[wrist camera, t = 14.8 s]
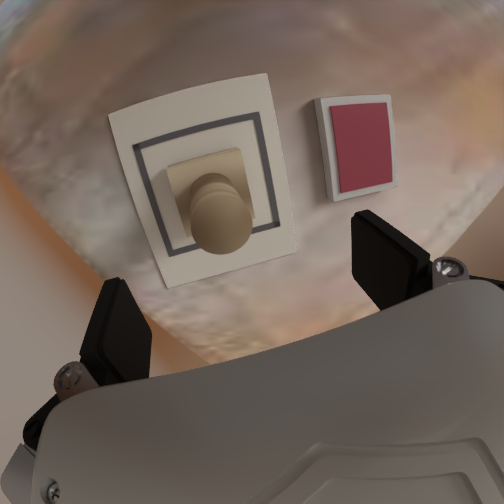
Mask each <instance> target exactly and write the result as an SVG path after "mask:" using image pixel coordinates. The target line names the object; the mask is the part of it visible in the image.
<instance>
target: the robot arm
mask: <svg viewBox="0 0 504 504" xmlns="http://www.w3.org/2000/svg"><path fill="white" fill-rule="evenodd" d="M351 238H352V275H353V277H354V279H355V280H356V282H357V283H358V284H359V285H360V286H361V288H362V289H363V290H364V291H365V292H366V293H367V295H368V296H369V297H370V298H371V299H372V301H373V302H374V303H375V304H376V306H377V307H378V308H379V309H380V310H381V311H379V312H377V313H374V314H372V315H369V316H366V317H364V318H361V319H359V320H356V321H353V322H351V323H348V324H345V325H342V326H340V327H337V328H334V329H331V330H328V331H326V332H323V333H320V334H317V335H314V336H311V337H308V338H305V339H302V340H299V341H296V342H292V343H289V344H286V345H283V346H279V347H276V348H273V349H269V350H266V351H262V352H259V353H255V354H252V355H248V356H244V357H241V358H237V359H233V360H229V361H225V362H221V363H217V364H213V365H208V366H204V367H200V368H196V369H191V370H186V371H182V372H177V373H172V374H167V375H162V376H157V377H151V378H149V369H150V355H151V343H152V332H151V329H150V327H149V325H148V323H147V322H146V320H145V318H144V316H143V314H142V313H141V311H140V309H139V307H138V305H137V303H136V301H135V299H134V297H133V296H132V294H131V292H130V290H129V288H128V286H127V284H126V282H125V280H123V279H122V280H121V279H120V278H119V277H116V278H112V279H109V280H106V281H105V282H104V284H103V286H102V289H101V292H100V294H99V297H98V299H97V302H96V305H95V308H94V310H93V313H92V316H91V319H90V322H89V325H88V328H87V331H86V334H85V337H84V340H83V343H82V346H81V349H80V353H79V354H80V356H81V359H80V362H78V361H75V362H70V363H67V364H66V365H64V366H63V367H62V368H61V369H60V370H59V371H58V372H57V374H56V376H55V379H54V388H55V391H56V394H55V395H54V396H53V397H52V398H51V399H50V400H49V401H48V402H47V403H46V404H45V405H44V406H43V407H41V408H40V409H39V410H38V411H37V412H36V413H35V414H34V415H33V416H32V417H31V418H30V419H29V420H28V421H27V422H26V424H25V426H24V429H23V439H24V442H25V444H24V445H23V444H21V443H20V444H19V446H18V448H17V449H16V451H15V453H14V454H13V456H12V458H11V459H10V461H9V463H8V465H7V466H6V468H5V470H4V472H3V474H2V476H1V482H0V484H1V489H2V491H3V493H4V494H5V495H6V497H7V498H8V499H9V501H10V502H11V503H12V504H504V281H499V280H494V279H488V278H483V277H477V276H471V275H469V273H468V269H467V267H466V265H465V264H464V263H463V262H462V261H460V260H458V259H456V258H452V257H439V258H437V259H435V260H434V262H432V261H430V254H429V253H428V252H427V251H425V250H424V249H423V248H421V247H420V246H419V245H417V244H416V243H415V242H413V241H412V240H411V239H409V238H408V237H407V236H405V235H404V234H403V233H401V232H400V231H399V230H397V229H396V228H394V227H393V226H392V225H390V224H389V223H387V222H386V221H385V220H383V219H382V218H380V217H379V216H377V215H376V214H374V213H373V212H371V211H370V210H368V209H367V210H363V211H359V212H356V213H355V214H354V217H352V218H351Z"/></svg>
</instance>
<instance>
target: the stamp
mask: <svg viewBox="0 0 504 504" xmlns="http://www.w3.org/2000/svg"><path fill="white" fill-rule="evenodd" d="M166 171H167V175H168V178H169V182H170V185H171V188H172V192H173V195H174V198H175V202H176V205H177V208H178V211H179V214H180V217H181V221H182V224H183V227H184V230H185V233H186V236H187V237H190V236H193V239H194V241H195V242H196V244H197V245H198V246H199V247H200V248H201V249H203V250H204V251H206V252H208V253H211V254H216V255H224V254H229V253H232V252H234V251H237V250H238V249H240V248H241V247H242V246H243V245H244V244H245V243H246V242H247V241H248V239H249V237H250V235H251V232H252V227H253V222H252V219H255V214H254V209H253V204H252V200H251V195H250V190H249V186H248V181H247V176H246V172H245V167H244V162H243V158H242V153H241V150H240V149H239V148H237V147H235V148H231V149H226V150H222V151H218V152H215V153H211V154H207V155H203V156H199V157H196V158H192V159H189V160H185V161H182V162H178V163H175V164H172V165H168V167H167V169H166Z"/></svg>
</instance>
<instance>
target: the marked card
mask: <svg viewBox="0 0 504 504" xmlns="http://www.w3.org/2000/svg"><path fill="white" fill-rule="evenodd" d="M108 117H109V121H110V124H111V128H112V132H113V136H114V139H115V143H116V146H117V150H118V153H119V157H120V160H121V163H122V166H123V170H124V173H125V176H126V179H127V182H128V185H129V188H130V191H131V194H132V197H133V200H134V203H135V206H136V209H137V212H138V214H139V217H140V220H141V223H142V226H143V228H144V231H145V234H146V236H147V239H148V241H149V244H150V247H151V249H152V252H153V254H154V257H155V259H156V262H157V264H158V267H159V269H160V271H161V274H162V276H163V279H164V281H165V283H166V286H167V288H171V287H175V286H178V285H182V284H186V283H189V282H193V281H196V280H200V279H204V278H207V277H211V276H214V275H218V274H221V273H225V272H229V271H232V270H236V269H239V268H243V267H246V266H250V265H253V264H257V263H260V262H264V261H267V260H271V259H274V258H278V257H281V256H285V255H288V254H292V253H295V252H298V250H297V242H296V235H295V228H294V221H293V215H292V208H291V201H290V195H289V189H288V183H287V176H286V170H285V165H284V159H283V153H282V147H281V142H280V136H279V131H278V126H277V120H276V115H275V110H274V105H273V100H272V95H271V90H270V85H269V81H268V76H267V73H263V74H256V75H250V76H244V77H238V78H232V79H227V80H222V81H217V82H213V83H208V84H204V85H200V86H196V87H192V88H188V89H184V90H180V91H176V92H173V93H169V94H166V95H163V96H159V97H156V98H153V99H150V100H147V101H144V102H141V103H138V104H135V105H132V106H129V107H126V108H124V109H121V110H118V111H116V112H113V113H111V114H108ZM235 147H237V148H239V149H240V150H241V153H242V158H243V162H244V167H245V172H246V176H247V181H248V186H249V190H250V195H251V200H252V204H253V209H254V214H255V219H252V222H253V227H252V232H251V235H250V237H249V239H248V241H247V242H246V243H245V244H244V245H243V246H242V247H241V248H240V249H238V250H237V251H234V252H232V253H229V254H224V255H216V254H211V253H208V252H206V251H204V250H203V249H201V248H200V247H199V246H198V245H197V244H196V242H195V241H194V239H193V236H190V237H187V236H186V233H185V230H184V227H183V224H182V221H181V217H180V214H179V211H178V208H177V205H176V202H175V198H174V195H173V192H172V188H171V185H170V182H169V178H168V175H167V171H166V169H167V167H168V165H172V164H175V163H178V162H182V161H185V160H189V159H192V158H196V157H199V156H203V155H207V154H211V153H215V152H218V151H222V150H226V149H231V148H235Z"/></svg>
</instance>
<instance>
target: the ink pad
mask: <svg viewBox="0 0 504 504" xmlns="http://www.w3.org/2000/svg"><path fill="white" fill-rule="evenodd" d="M314 105H315V111H316V117H317V123H318V129H319V136H320V143H321V150H322V158H323V165H324V174H325V182H326V191H327V198H329V199H330V200H332V201H333V202H336V201H340V200H344V199H348V198H352V197H356V196H360V195H365V194H369V193H373V192H377V191H382V190H386V189H390V188H395V187H397V169H396V148H395V134H394V123H393V113H392V105H391V97H390V95H356V96H340V97H328V98H318V99H314Z"/></svg>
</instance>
